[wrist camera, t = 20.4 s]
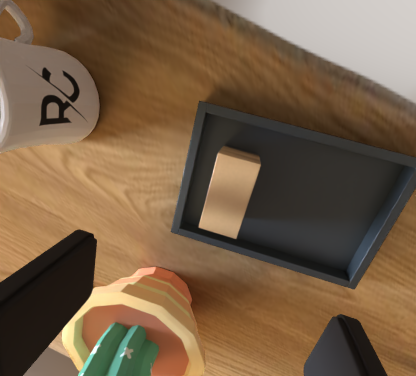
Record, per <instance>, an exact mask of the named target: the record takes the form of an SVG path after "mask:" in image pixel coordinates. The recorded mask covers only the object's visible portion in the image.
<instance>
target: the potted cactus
mask: <svg viewBox="0 0 416 376" xmlns="http://www.w3.org/2000/svg"><path fill="white" fill-rule="evenodd" d="M191 302H192V298H191V295H190V292H189V289H188V286H187V284H186V283H185V282H184V281H182V280H181V279H180V278H179V277H178V276H177V275H176V274H175V273H174V272H171V271H168V270H165V269H162V268H159V267H149V268H141V269H139V270H138V271H137V272H136V273H134V274H133V275H132V276H131V277H127V278H121V279H119V280H117V281H115V282H114V283H112V284H110V285H108V286H102V287H95V288H94V289H93V290H92V294H91V296H90V297H89V299H88V300H87V301H86V303H85V304H84V305H83V306H82V307H81V308H80V310H79V311H78V312H77V313H76V314H75V315H74V317H73V318H72V319H71V320H70V321H69V322H68V324H67V325H66V326H65V327H64V328H63V331H62V343H63V345H64V347H65V348H66V350H67V352H68V354H69V355H70V357H71V359H72V361H73V363H74V364H75V366H76V368H77V370H79V371H80V373H79V375H78V376H202V375H203V372H204V370H205V350H204V347H203V345H202V342H201V339H200V336H199V333H198V331H197V324H196V321H195V318H194V315H193V312H192V309H191V306H190V305H191Z"/></svg>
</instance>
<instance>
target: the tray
mask: <svg viewBox="0 0 416 376" xmlns="http://www.w3.org/2000/svg"><path fill="white" fill-rule="evenodd" d="M224 145H227V146H230V147H234V148H237V149H241V150H245V151H248V152H252V153H256V154H259V157H260V162H261V167H260V170H259V173H258V176H257V179H256V182H255V185H254V188H253V191H252V194H251V197H250V200H249V203H248V206H247V208H246V211H245V214H244V217H243V220H242V223H241V226H240V229H239V232H238V235H237V238H236V239H234V238H231V237H228V236H224V235H221V234H218V233H215V232H211V231H208V230H205V229H202V228H199V224H200V220H201V216H202V212H203V208H204V204H205V201H206V197H207V193H208V189H209V185H210V182H211V178H212V174H213V170H214V166H215V163H216V159H217V155H218V152H219V151H220V150H221V149H222V147H223V146H224ZM415 188H416V157H413V156H409V155H405V154H401V153H397V152H394V151H390V150H386V149H382V148H378V147H375V146H371V145H367V144H363V143H359V142H356V141H352V140H348V139H344V138H340V137H337V136H333V135H329V134H325V133H321V132H318V131H314V130H310V129H306V128H302V127H299V126H295V125H291V124H287V123H283V122H280V121H276V120H272V119H268V118H264V117H261V116H257V115H253V114H249V113H245V112H242V111H238V110H234V109H230V108H226V107H223V106H219V105H215V104H211V103H207V102H203V101H199V104H198V109H197V113H196V118H195V123H194V127H193V132H192V136H191V141H190V146H189V150H188V155H187V160H186V164H185V169H184V173H183V178H182V183H181V187H180V192H179V197H178V201H177V206H176V210H175V215H174V220H173V224H172V229H171V232H172V233H175V234H179V235H182V236H185V237H188V238H192V239H195V240H198V241H201V242H204V243H207V244H211V245H214V246H217V247H220V248H223V249H227V250H230V251H233V252H236V253H239V254H242V255H246V256H249V257H252V258H255V259H258V260H262V261H265V262H268V263H271V264H274V265H278V266H281V267H284V268H287V269H290V270H293V271H297V272H300V273H303V274H306V275H309V276H313V277H316V278H319V279H322V280H325V281H328V282H332V283H335V284H338V285H341V286H344V287H348V288H351V289H355V288H356V286H357V285H358V283H359V281H360V280H361V278H362V276H363V275H364V273H365V271H366V270H367V268H368V266H369V265H370V263H371V261H372V260H373V258H374V256H375V255H376V253H377V251H378V250H379V248H380V246H381V245H382V243H383V241H384V240H385V238H386V236H387V235H388V233H389V231H390V230H391V228H392V226H393V225H394V223H395V221H396V220H397V218H398V217H399V215H400V213H401V212H402V210H403V208H404V207H405V205H406V203H407V202H408V200H409V198H410V197H411V195H412V193H413V192H414V190H415Z"/></svg>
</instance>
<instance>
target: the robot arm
mask: <svg viewBox="0 0 416 376" xmlns="http://www.w3.org/2000/svg"><path fill="white" fill-rule="evenodd" d="M96 246H97V240H96V239H95V238H94V235H93V234H92V233H89V232H86V231H83V230H76V231H74V232H73V233H72V234H70V235H69V236H67V237H66V238H64V239H63V240H61V241H60V242H59V243H57V244H56V245H54V246H53V247H51V248H50V249H48V250H47V251H45V252H44V253H43V254H41V255H40V256H38V257H37V258H35V259H34V260H32V261H31V262H29V263H28V264H27V265H25V266H24V267H22V268H21V269H19V270H18V271H16V272H15V273H13V274H12V275H11V276H9V277H8V278H6V279H5V280H3V281H2V282H0V376H23V375H24V374H25V372H26V371H27V370H28V369H29V368H30V367H31V365H32V364H33V363H34V362H35V361H36V360H37V358H38V357H39V356H40V355H41V354H42V352H43V351H44V350H45V349H46V348H47V347H48V346H49V344H50V343H51V342H52V341H53V340H54V339H55V337H56V336H57V335H58V334H59V333H60V332H61V330H62V329H63V328H64V327H65V326H66V325H67V324H68V322H69V321H70V320H71V319H72V318H73V317H74V315H75V314H76V313H77V312H78V311H79V310H80V308H81V307H82V306H83V305H84V304H85V303H86V301H87V300H88V299H89V297H90V296H91V294H92V290H93V280H94V269H95V258H96ZM304 376H387V374H386V372H385V370H384V368H383V366H382V364H381V362H380V360H379V358H378V356H377V354H376V352H375V350H374V349H373V347H372V345H371V343H370V341H369V339H368V337H367V335H366V333H365V331H364V329H363V327H362V325H361V323H360V322H359V321H358V320H357V319H354V318H351V317H348V316H345V315H342V314H339V315H337V317H332V318H331V320H330V322H329V323H328V325H327V327H326V328H325V330H324V332H323V334H322V335H321V337H320V339H319V340H318V342H317V344H316V345H315V347H314V349H313V351H312V352H311V354H310V356H309V357H308V359H307V361H306V362H305V365H304Z"/></svg>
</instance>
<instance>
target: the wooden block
mask: <svg viewBox="0 0 416 376" xmlns="http://www.w3.org/2000/svg"><path fill="white" fill-rule="evenodd" d="M260 167H261V162H260V157H259V154H256V153H252V152H248V151H245V150H241V149H237V148H234V147H230V146H227V145H224V146H223V147H222V149H221V150H220V151H219V152H218V155H217V159H216V163H215V166H214V170H213V174H212V178H211V182H210V185H209V189H208V193H207V197H206V201H205V204H204V208H203V212H202V216H201V220H200V224H199V228H202V229H205V230H208V231H211V232H215V233H218V234H221V235H224V236H228V237H231V238H234V239H236V238H237V235H238V232H239V229H240V226H241V223H242V220H243V217H244V214H245V211H246V208H247V206H248V203H249V200H250V197H251V194H252V191H253V188H254V185H255V182H256V179H257V176H258V173H259V170H260Z"/></svg>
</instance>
